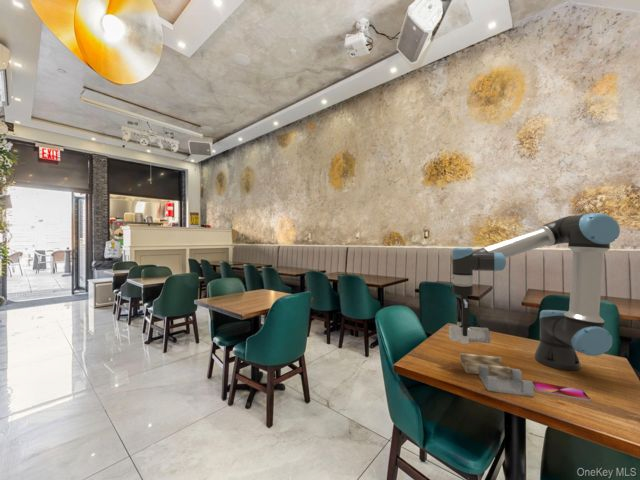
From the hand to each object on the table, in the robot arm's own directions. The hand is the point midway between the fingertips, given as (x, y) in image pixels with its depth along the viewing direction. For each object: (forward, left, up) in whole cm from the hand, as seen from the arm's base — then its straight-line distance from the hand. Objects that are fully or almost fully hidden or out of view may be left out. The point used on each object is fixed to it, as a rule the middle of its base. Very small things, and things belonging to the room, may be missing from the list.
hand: (462, 340), depth 114 cm
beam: (-9, -4, -12) cm, 16 cm away
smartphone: (-30, +8, -13) cm, 34 cm away
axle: (-2, 0, 0) cm, 2 cm away
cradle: (-12, +9, -12) cm, 20 cm away
